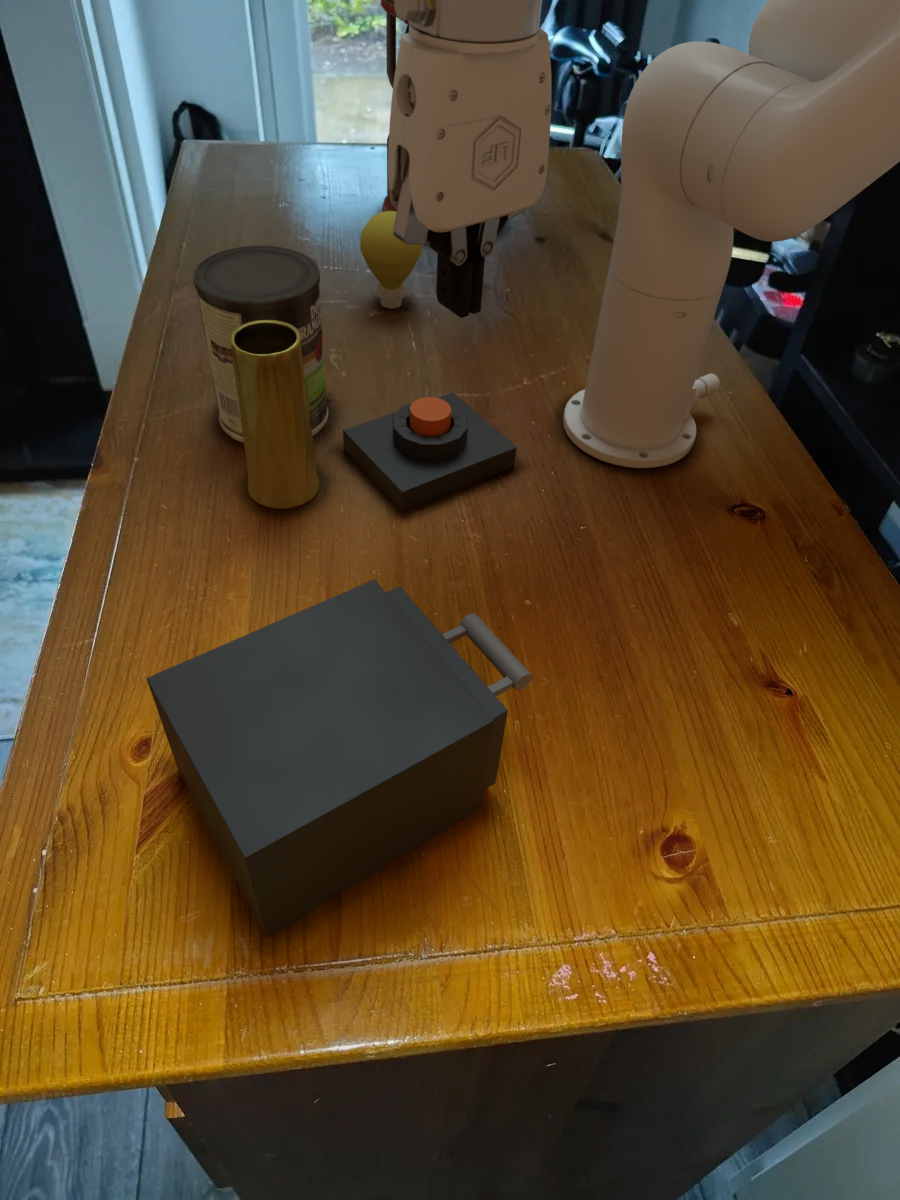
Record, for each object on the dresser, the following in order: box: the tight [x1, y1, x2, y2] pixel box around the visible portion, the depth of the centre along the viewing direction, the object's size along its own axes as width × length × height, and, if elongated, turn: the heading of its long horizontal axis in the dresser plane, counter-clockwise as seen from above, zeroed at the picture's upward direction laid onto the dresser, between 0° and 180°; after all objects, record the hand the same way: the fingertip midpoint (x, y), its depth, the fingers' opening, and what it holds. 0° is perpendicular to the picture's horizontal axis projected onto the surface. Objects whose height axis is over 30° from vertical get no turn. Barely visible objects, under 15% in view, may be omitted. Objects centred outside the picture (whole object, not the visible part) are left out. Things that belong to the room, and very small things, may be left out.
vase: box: [231, 320, 320, 510], centre depth 68 cm, size 6×6×14 cm
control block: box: [342, 392, 517, 512], centre depth 75 cm, size 12×10×4 cm
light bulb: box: [359, 211, 423, 309], centre depth 92 cm, size 7×7×10 cm
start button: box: [410, 396, 451, 436], centre depth 73 cm, size 4×4×2 cm
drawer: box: [385, 585, 533, 791], centre depth 51 cm, size 18×11×8 cm, turn 124°
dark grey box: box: [146, 579, 494, 938], centre depth 49 cm, size 15×13×10 cm
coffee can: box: [192, 245, 329, 444], centre depth 75 cm, size 10×10×14 cm
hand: (458, 306), depth 61 cm, fingers closed
